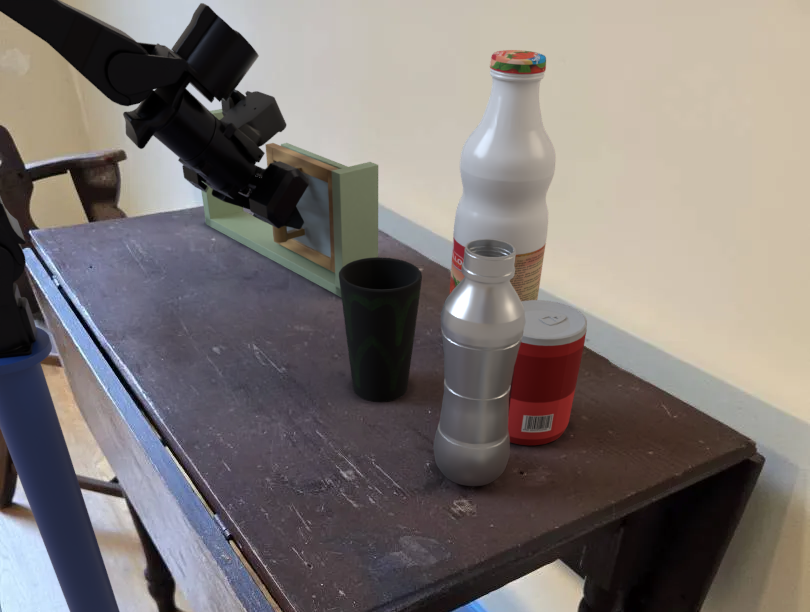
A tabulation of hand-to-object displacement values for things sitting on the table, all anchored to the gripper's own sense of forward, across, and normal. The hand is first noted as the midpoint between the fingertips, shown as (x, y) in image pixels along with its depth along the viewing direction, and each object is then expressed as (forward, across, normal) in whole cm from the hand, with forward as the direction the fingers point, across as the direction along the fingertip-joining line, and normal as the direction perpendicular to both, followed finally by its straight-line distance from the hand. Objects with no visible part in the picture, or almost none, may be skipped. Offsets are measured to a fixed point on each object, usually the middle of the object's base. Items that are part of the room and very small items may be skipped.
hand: (288, 219), depth 96 cm
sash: (+4, 0, +3) cm, 5 cm away
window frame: (+7, +6, +3) cm, 10 cm away
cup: (-2, -29, +12) cm, 31 cm away
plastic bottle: (-4, -45, +14) cm, 47 cm away
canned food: (+3, -43, +7) cm, 44 cm away
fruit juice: (+9, -30, +1) cm, 31 cm away
